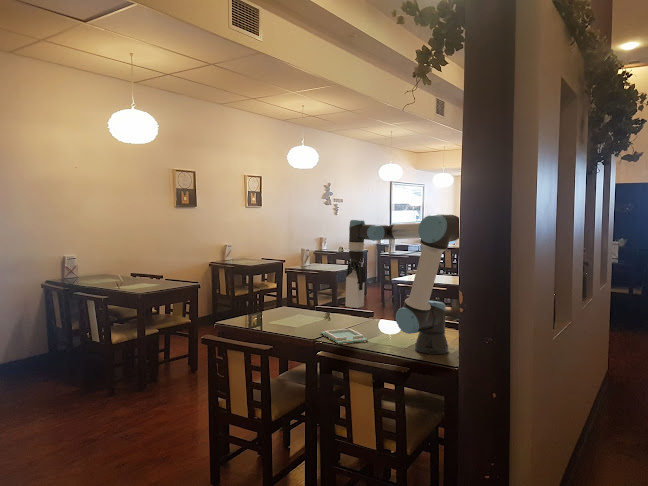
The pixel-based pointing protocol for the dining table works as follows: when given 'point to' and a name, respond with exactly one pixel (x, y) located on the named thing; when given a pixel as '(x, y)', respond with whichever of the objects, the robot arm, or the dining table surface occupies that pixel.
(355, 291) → the milk carton
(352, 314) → the dining table surface
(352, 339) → the shallow tray
